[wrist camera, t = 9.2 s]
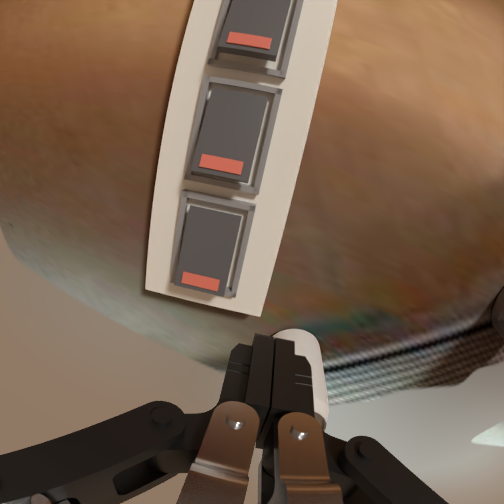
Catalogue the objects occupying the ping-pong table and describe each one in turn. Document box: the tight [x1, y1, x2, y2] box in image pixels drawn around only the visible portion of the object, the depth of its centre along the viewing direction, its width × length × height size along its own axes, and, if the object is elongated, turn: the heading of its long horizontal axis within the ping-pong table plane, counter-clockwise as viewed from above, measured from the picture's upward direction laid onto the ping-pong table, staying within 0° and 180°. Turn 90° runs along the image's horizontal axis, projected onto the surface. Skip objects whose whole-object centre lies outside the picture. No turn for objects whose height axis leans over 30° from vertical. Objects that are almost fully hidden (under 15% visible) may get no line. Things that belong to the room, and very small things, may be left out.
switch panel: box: [145, 0, 338, 317], centre depth 26 cm, size 12×33×4 cm, turn 168°
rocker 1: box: [218, 0, 291, 62], centre depth 20 cm, size 4×7×1 cm, turn 168°
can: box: [272, 329, 329, 431], centre depth 31 cm, size 6×6×12 cm
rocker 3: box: [174, 205, 242, 297], centre depth 27 cm, size 4×7×1 cm, turn 168°
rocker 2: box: [191, 87, 268, 184], centre depth 23 cm, size 4×7×1 cm, turn 168°
